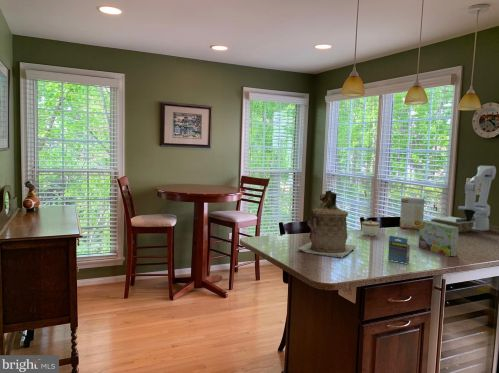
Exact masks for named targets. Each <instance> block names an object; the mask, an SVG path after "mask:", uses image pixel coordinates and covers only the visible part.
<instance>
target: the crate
mask: <svg viewBox="0 0 499 373" xmlns="http://www.w3.org/2000/svg"><path fill="white" fill-rule="evenodd" d="M430 221H433V222H437V223H441V224H446V225H450V226H454V227H458V228H459V230H458V233H462V232H463V233H464V232H471V231H472V230H473V229H472V228H473V222H470V223H461V224H457V223H452V222H446V221H441V220H435V219H434V218H431V219H430Z"/></svg>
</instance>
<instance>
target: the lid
mask: <svg viewBox="0 0 499 373" xmlns="http://www.w3.org/2000/svg"><path fill="white" fill-rule="evenodd" d="M433 219H435V220H441V221H446V222H452V223H457V224H461V223H470V222H468V221H467V218H466V217H463V218H461V217H455V216H441V217H433ZM475 219H476V218H474V216H473V217H472V219H471V222H472V223H474V222H475Z"/></svg>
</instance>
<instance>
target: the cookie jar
mask: <svg viewBox="0 0 499 373" xmlns="http://www.w3.org/2000/svg"><path fill="white" fill-rule="evenodd" d="M337 195H338V194H337V193H336V192H332V190H325V193H322V194H320V195H319V201H321V203H320V205H318V206H317V207H315V208H312V209H311V212H310V218H311V219H310V220H308V221H307V226H309V228H310V232H309V237H308V238H309V240H310V242H308V243H305V244H304V245H302V246H299V247H297V248H296V249H297V250H298V251H302V252H304V253H306V254H313V255H321V256H328V257H334V258H338V257H342V258H343V257H344V256H346V255H348V254H350V253H351V252H353V251H355V250H356V247H357V246H356V245H350V244H347V239H348V224H347V223H348V222H347V217H348V215H349V213H348V211H345V210H342V209H340V208H339V207H338V206H337ZM354 249H355V250H354ZM352 250H353V251H352Z"/></svg>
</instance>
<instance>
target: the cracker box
mask: <svg viewBox="0 0 499 373" xmlns="http://www.w3.org/2000/svg"><path fill="white" fill-rule="evenodd" d="M424 211H425V198H418V197H406V196H405V197H404V196H403V197H401V201H400V219H399V228H401V229H408V230H409V229H411V230H416V231H417V230H418V231H419V227H420V221H421V220H424V214H425V212H424Z"/></svg>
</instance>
